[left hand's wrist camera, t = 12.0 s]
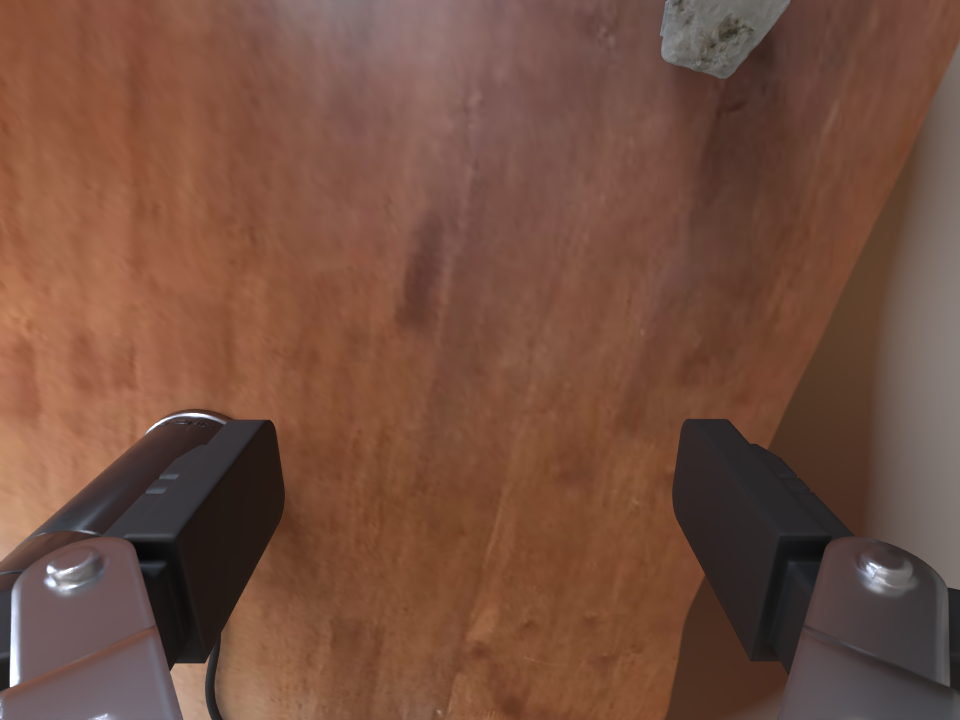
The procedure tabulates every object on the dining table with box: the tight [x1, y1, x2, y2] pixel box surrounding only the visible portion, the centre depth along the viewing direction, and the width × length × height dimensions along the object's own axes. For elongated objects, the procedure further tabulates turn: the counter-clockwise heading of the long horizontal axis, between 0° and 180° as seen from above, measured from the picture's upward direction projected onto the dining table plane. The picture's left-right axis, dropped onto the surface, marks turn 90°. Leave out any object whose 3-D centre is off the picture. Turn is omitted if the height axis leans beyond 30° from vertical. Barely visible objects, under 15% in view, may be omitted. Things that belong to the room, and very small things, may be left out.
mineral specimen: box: [660, 0, 790, 79], centre depth 30 cm, size 7×9×8 cm
